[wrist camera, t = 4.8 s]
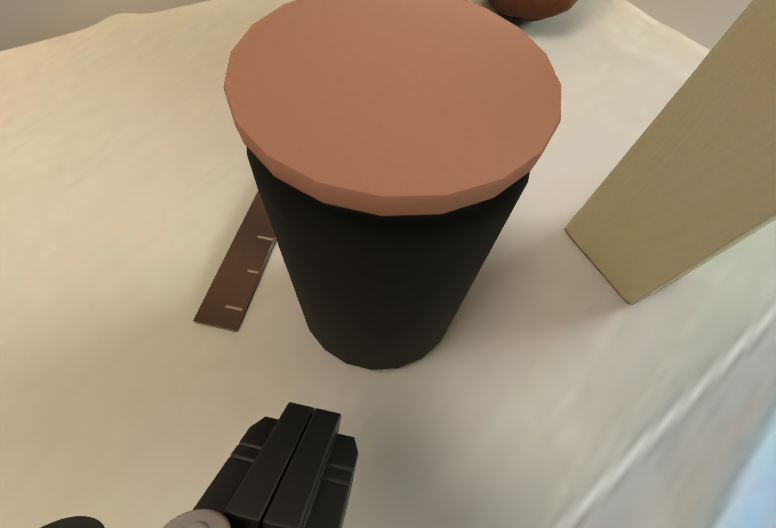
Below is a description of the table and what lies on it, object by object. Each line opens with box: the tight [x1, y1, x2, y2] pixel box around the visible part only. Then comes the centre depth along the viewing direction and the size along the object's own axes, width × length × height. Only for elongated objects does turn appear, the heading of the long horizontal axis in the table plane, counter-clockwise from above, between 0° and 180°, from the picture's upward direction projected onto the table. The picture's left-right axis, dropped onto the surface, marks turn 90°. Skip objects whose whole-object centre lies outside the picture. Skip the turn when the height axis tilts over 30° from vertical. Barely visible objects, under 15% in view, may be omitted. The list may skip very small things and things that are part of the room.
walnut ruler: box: [193, 190, 276, 332], centre depth 29 cm, size 15×3×1 cm, turn 168°
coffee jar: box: [224, 0, 561, 370], centre depth 20 cm, size 11×11×18 cm
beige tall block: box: [566, 0, 776, 304], centre depth 22 cm, size 8×7×21 cm
